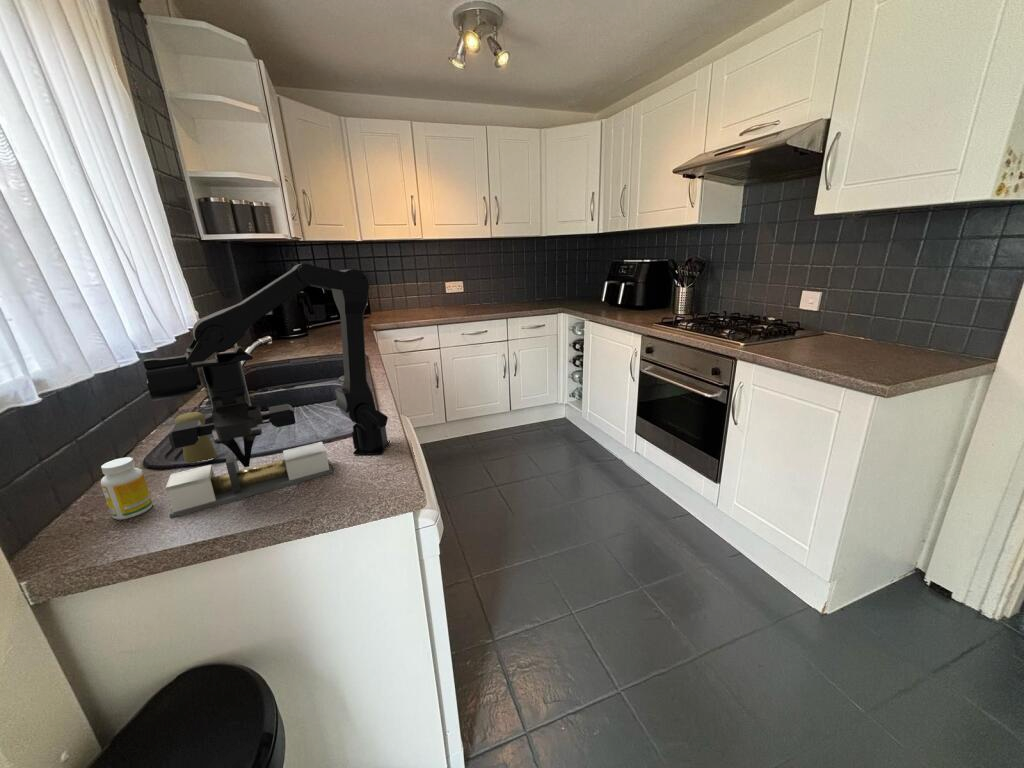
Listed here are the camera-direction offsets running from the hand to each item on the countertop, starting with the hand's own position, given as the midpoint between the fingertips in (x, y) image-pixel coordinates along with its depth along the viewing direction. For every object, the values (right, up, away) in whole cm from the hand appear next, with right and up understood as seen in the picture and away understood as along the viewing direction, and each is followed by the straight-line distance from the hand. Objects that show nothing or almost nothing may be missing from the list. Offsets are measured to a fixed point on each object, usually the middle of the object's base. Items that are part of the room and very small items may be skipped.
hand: (247, 466), depth 76 cm
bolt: (+1, -3, +2) cm, 4 cm away
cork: (-20, -2, +14) cm, 24 cm away
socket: (-7, -5, -3) cm, 9 cm away
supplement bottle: (-17, -7, -5) cm, 19 cm away
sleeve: (+8, -2, +6) cm, 11 cm away
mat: (+1, -4, +2) cm, 5 cm away
